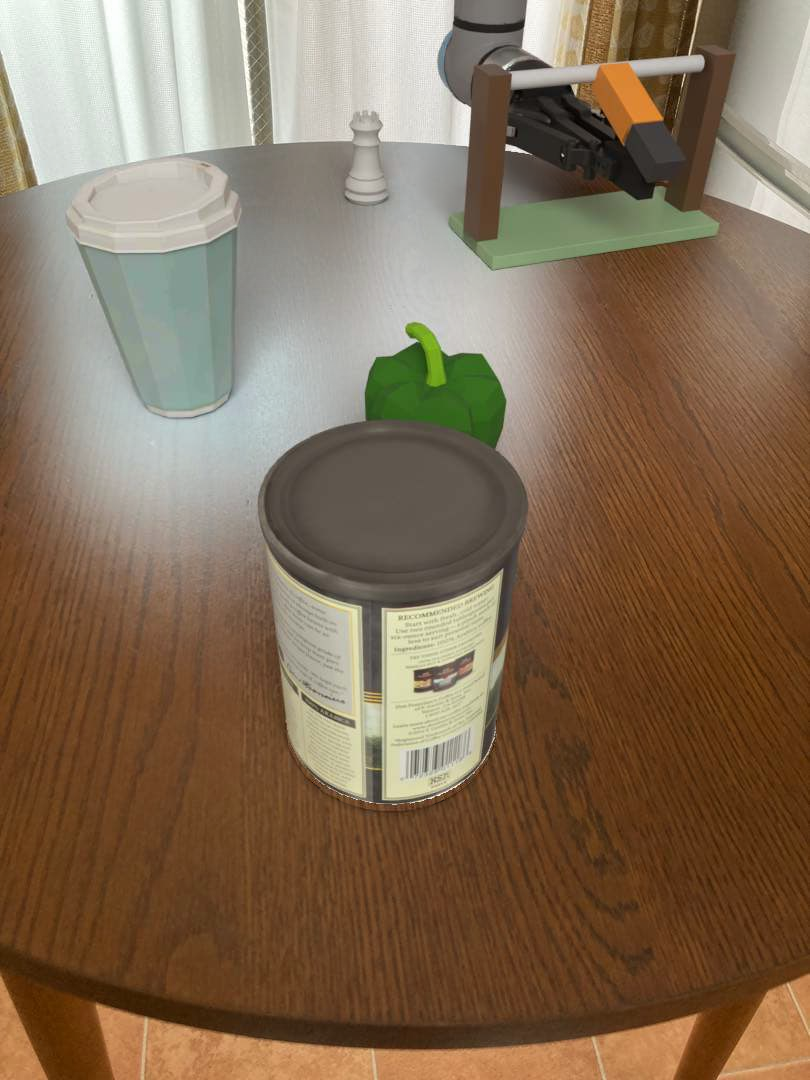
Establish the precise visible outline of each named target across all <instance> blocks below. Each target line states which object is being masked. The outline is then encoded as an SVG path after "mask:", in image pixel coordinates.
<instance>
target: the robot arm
mask: <svg viewBox="0 0 810 1080" xmlns="http://www.w3.org/2000/svg"><path fill="white" fill-rule="evenodd" d="M527 5H528V0H453V20H452V29H451V30H450V31H448V33H447V34H446V35H445V36H444V39H443V41H442V43H441V45H440V47H439V50H438V53H437V58H436V59H437V71H438V75H439V78H440V80H441V82H442V83H443V85H444V86H445V87H446V88H447V89H448V90H449V92H450V93H451V95H452V96H453V97H454V99H456V100H457V101H458V102H460V103H461V104H462V105H466V106H468V107H469V108H471V103H472V87H473V71H474V65H484V64H497V65H499V66H500V67H502V68H503V69H505V70H506V71H508V72H510V71H522V70H533V69H544V68H555V67H553V66H552V65H550V64H548V63H547V62H545V61H544V60H543V59H541V58H540V57H537V56H536V55H534V54H532V53H530V52H529V51H527V50H525V49H524V48H523V41H524V31H525V25H526V18H527V17H526V15H527ZM506 146H512V147H515V148H517V149H520V150H521V151H523V152H525V153H527V154H530V155H532V156H534V157H536V158H538V159H540V160H542V161H544V162H547V163H548V164H550V165H552V166H554V167H556V168H559V169H561V170H563V171H565V172H574V171H576V169H577V166H578V167H579V168H581V170H583V174H582V179H583V180H584V181H585V180H586V181H594V180H596V177H597V174H598V175H599V176H601V177H602V178H604V179H606V180H608V181H609V182H610V183H612V184H614V186H616V187H618V188H619V189H621V191H625V192H626V193H628V194H629V195H630V196H632V197H633V198H634V199H636V200H645V199H652V198H653V193H654V189H655V187H656V183H657V182H652V183H647V182H646V180H645V178H644V177H643V175H642V173H641V172H640V170H639V168H638V166H637V165H636V163H635V161H634V160H633V158H632V156H631V155H630V153H629V151H628V150H627V148H626V146H623V144H622V143H621V141H620V139H619V137H618V136H617V134H616V132H615V131H614V129H613V127H612V126H611V124H610V122H609V120H608V119H607V117H606V115H605V114H604V112H603V110H602V109H601V108H600V109H597V108H592V105H591V103H590V102H589V101H587V100H583V99H581V98H578V97H577V96H576V94H575V92H574V90H573V86H572V85H562V86H551V87H541V88H530V89H520V90H511V91H510V103H509V114H508V125H507V136H506Z"/></svg>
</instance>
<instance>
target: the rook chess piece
mask: <svg viewBox="0 0 810 1080" xmlns="http://www.w3.org/2000/svg"><path fill="white" fill-rule="evenodd" d="M368 112H369V110H368V109H367V110H365V109H364V110H362V115H361V112H360V111H359V110H357V111H354V113H352V119H351V121H350V122H349V124H348V126H349V128H350V129H351V131H352V132H353V137H352V139H351V144H352V145H353V156H352V166H351V169H350V171H349V172H348V173H349V175H348V176H347V178H346V179H345V182H344V185H345V188H346V190H345V191H344V196H345V197H346V199H347V200H348V201H349V202H351V203H352V204H356V205H360V206H375V205H379V204H381V203H383V202H385V200H386V199H387V198H388V196H389V194H390V193H389V191H388V189H387V188H388V186H389V184H388V180H387V178H386V177H385V176H384V173H385V172H384V171H383V170H382V166H381V160H380V154H379V151H380V150H379V148H380V147H379V145H380V144H381V142H382V141H381V139H380V138H379V133H380V132H381V130H382V129H383V127H384V125H383V122H382V121H381V119H380V113H377V111H375V110H371V111H370V115H369V113H368Z"/></svg>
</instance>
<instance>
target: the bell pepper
mask: <svg viewBox="0 0 810 1080" xmlns="http://www.w3.org/2000/svg"><path fill="white" fill-rule="evenodd" d="M404 328H405V329H404V331H405V334H406V335H407V336H408V338H409V339H413V340H414V339H415V340H416V342H413V343H412V344H410V345H409V346H407V347H405V348H404V349H402V350H400V351H398V352H397V353H395V354H393V355H386V356H385V355H383V356H376V357H375V359H374V361H373V363H372V365H371V367H370V369H369V371H368V376H367V379H366V385H365V389H364V415H365V416H364V417H365V421H371V420H383V419H391V420H414V421H422V422H428V423H433V424H438V425H443V426H446V427H449V428H452V429H455V430H458V431H461V432H464V433H466V434H468V435H471V436H473V437H475V438H477V439H479V440H481V441H483V442H484V443H486V444H488V445H489V446H491V447H492V448H493V449H495V450H496V448H497V446H498V443H499V440H500V438H501V435H502V432H503V429H504V425H505V424H504V423H505V417H506V416H505V415H506V408H507V398H506V395H505V392H504V390H503V387H502V384H501V381H500V380H499V378H498V376H497V374H496V373H495V372H494V370H493V368H492V366H491V365H490V364H489V362H488V360H487V359H486V357H485V356H484V354H483V353H478V352H477V353H475V352H459V353H455V354H451V355H448V354H447V353H446V352H444V351H443V350H442V347H441V345H440V343H439V341H438V339H437V337H436V335H435V333H434V332H433V331H432V330H431V329H429V328H428V327H427V326H426V325H425V324H423V323H421V322H417V321H413V322H408V323H407V324H406V326H405V327H404Z"/></svg>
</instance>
